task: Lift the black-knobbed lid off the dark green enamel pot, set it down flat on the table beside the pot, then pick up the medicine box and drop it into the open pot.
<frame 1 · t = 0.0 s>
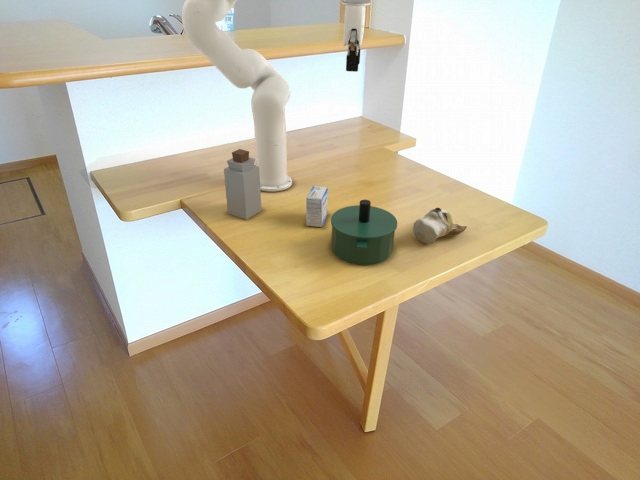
hand: (352, 67, 132), 37 cm above the table, tool pointing down, fingers open, 9 cm apart
perfume bottle: (244, 212, 137), on the table
pot: (361, 248, 121), on the table
ceramic sculpture: (434, 236, 127), on the table
lid: (363, 222, 117), point 7 cm above the table, touching pot
medicine box: (316, 220, 133), on the table
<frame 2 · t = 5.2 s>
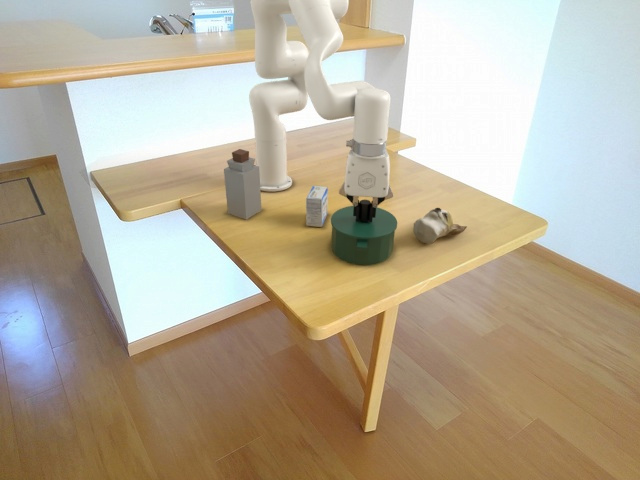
hand: (364, 218, 116), 9 cm above the table, tool pointing down, fingers closed on lid, 2 cm apart
lid: (363, 222, 117), point 8 cm above the table, touching gripper, pot
everything else where it was.
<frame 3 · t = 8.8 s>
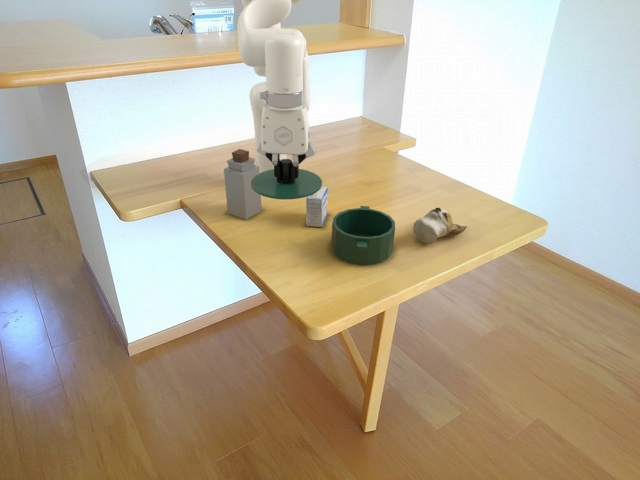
hand: (286, 179, 109), 19 cm above the table, tool pointing down, fingers closed on lid, 2 cm apart
lid: (286, 183, 110), point 18 cm above the table, touching gripper
everything else where it was.
when the fingers open (2 cm above the table, at t = 12.8 s): lid stays where it is, point 1 cm above the table.
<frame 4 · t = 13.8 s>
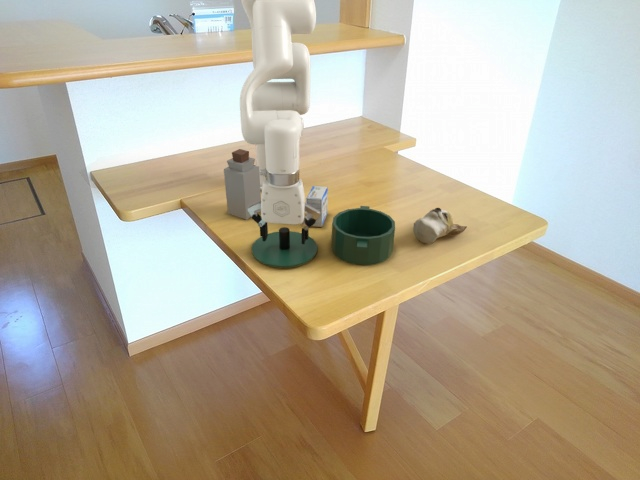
hand: (284, 239, 117), 3 cm above the table, tool pointing down, fingers open, 9 cm apart
lid: (284, 249, 119), point 1 cm above the table
everything else where it was.
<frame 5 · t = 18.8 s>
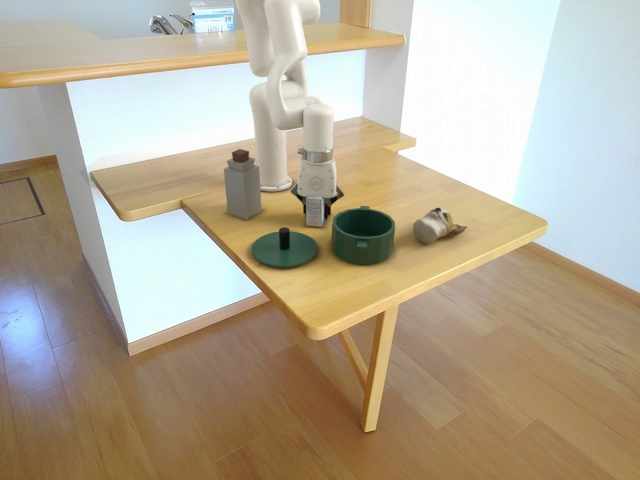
hand: (317, 215, 132), 1 cm above the table, tool pointing down, fingers closed on medicine box, 4 cm apart
medicine box: (316, 220, 133), on the table, touching gripper
everything else where it was.
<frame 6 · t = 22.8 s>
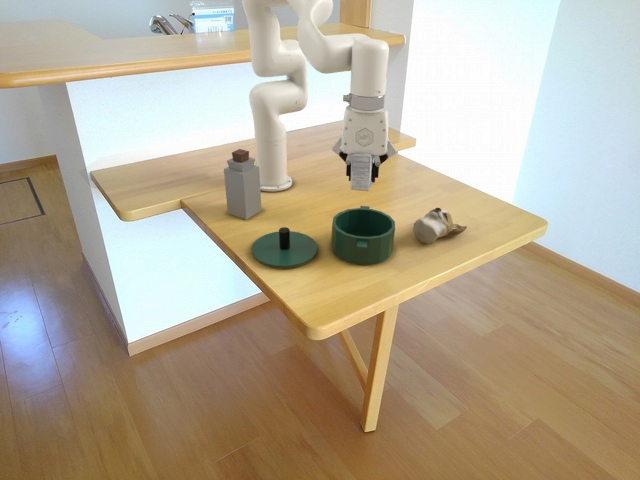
hand: (361, 178, 112), 18 cm above the table, tool pointing down, fingers closed on medicine box, 4 cm apart
medicine box: (361, 184, 113), point 17 cm above the table, touching gripper
everything else where it was.
when the fingers open (2 cm above the table, at t = 27.1 s): medicine box stays where it is, resting on pot.
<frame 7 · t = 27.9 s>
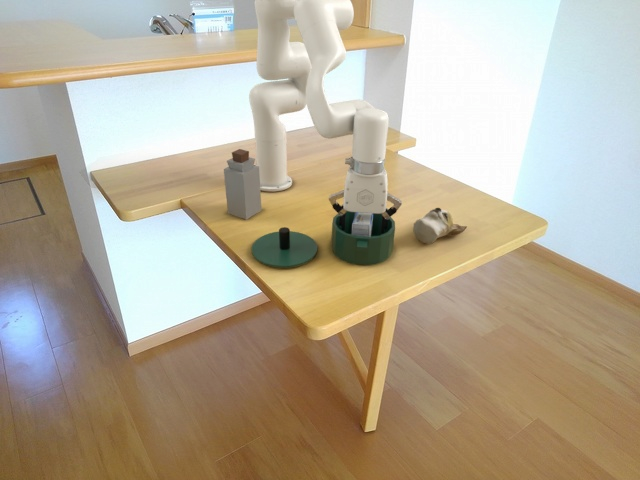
hand: (362, 229, 118), 5 cm above the table, tool pointing down, fingers open, 9 cm apart
medicine box: (361, 247, 121), resting on pot
everything else where it was.
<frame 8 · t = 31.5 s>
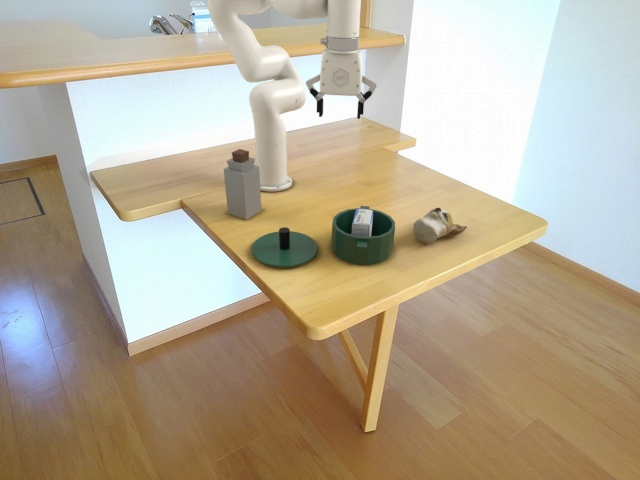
hand: (339, 116, 121), 28 cm above the table, tool pointing down, fingers open, 9 cm apart
nothing on the table moved.
at the end: lid inside the target area (0.1 cm from its centre), point 0.6 cm above the table; medicine box inside the target area in the pot (0.3 cm from its centre), point 0.3 cm above the pot's base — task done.
